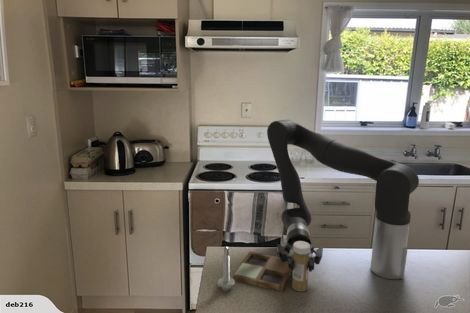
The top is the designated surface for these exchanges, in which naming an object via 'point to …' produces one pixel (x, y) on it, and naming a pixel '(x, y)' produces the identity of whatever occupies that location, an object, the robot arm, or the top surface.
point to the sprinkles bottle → (300, 265)
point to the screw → (226, 272)
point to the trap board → (263, 271)
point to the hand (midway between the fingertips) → (301, 267)
